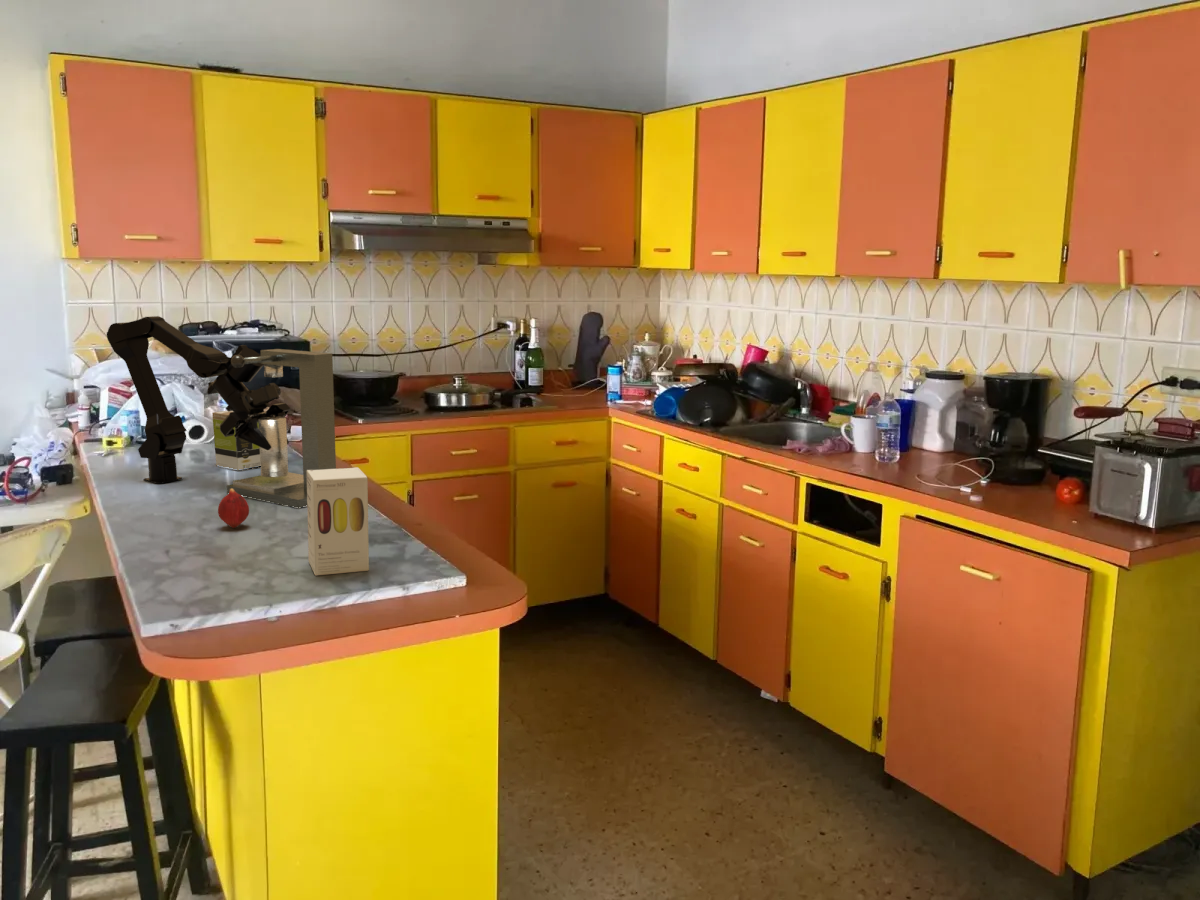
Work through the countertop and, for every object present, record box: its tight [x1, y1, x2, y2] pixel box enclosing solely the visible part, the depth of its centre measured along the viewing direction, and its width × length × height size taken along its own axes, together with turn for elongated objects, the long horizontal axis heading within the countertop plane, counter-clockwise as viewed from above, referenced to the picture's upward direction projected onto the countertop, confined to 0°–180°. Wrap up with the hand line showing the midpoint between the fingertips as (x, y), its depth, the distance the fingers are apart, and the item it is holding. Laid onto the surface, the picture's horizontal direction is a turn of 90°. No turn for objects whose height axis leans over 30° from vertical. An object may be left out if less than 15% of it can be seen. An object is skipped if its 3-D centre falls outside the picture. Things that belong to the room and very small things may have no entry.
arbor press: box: [226, 348, 337, 508], centre depth 220 cm, size 24×22×33 cm
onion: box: [217, 489, 250, 529], centre depth 196 cm, size 6×6×8 cm
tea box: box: [212, 406, 271, 470], centre depth 257 cm, size 15×10×15 cm
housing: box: [258, 416, 289, 477], centre depth 225 cm, size 6×6×13 cm
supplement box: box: [306, 466, 370, 576], centre depth 171 cm, size 10×9×17 cm
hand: (278, 446), depth 224 cm, fingers closed on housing, 6 cm apart
